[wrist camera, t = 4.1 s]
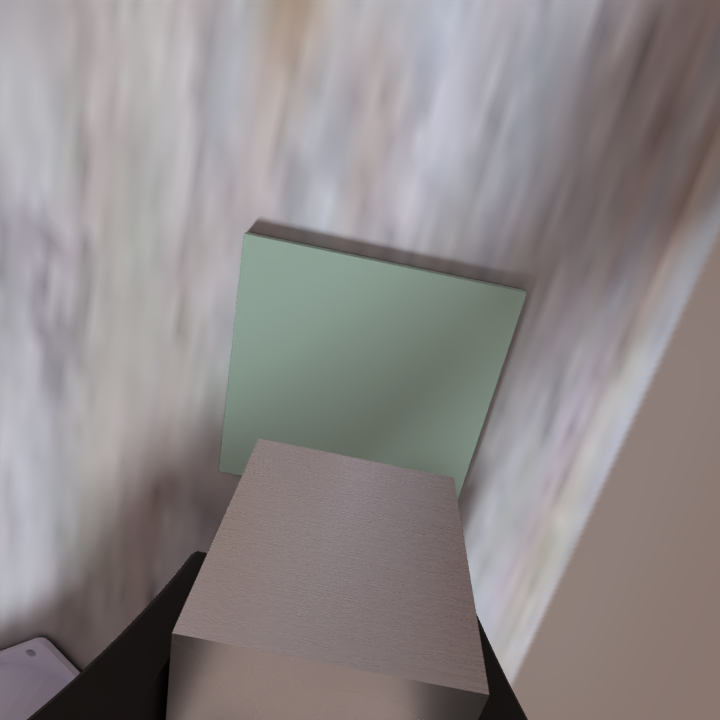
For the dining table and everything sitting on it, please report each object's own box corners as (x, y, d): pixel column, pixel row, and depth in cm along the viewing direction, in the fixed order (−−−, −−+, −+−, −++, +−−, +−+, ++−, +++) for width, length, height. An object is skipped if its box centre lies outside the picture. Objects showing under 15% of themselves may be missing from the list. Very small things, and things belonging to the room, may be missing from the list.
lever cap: (395, 654, 14) (394, 961, 9) (233, 621, 14) (136, 913, 9) (454, 477, 12) (498, 757, 7) (259, 437, 12) (146, 689, 7)
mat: (450, 511, 23) (451, 517, 22) (221, 465, 22) (218, 471, 22) (524, 290, 19) (526, 292, 18) (247, 231, 18) (243, 233, 18)
